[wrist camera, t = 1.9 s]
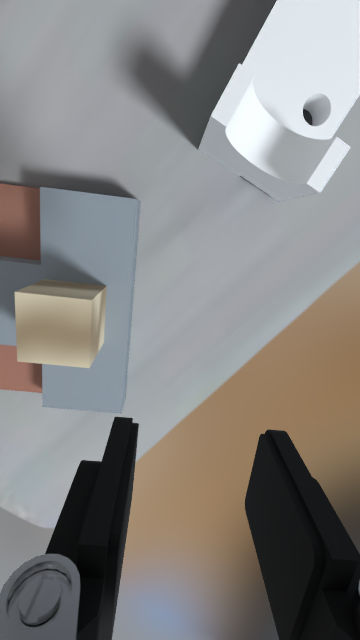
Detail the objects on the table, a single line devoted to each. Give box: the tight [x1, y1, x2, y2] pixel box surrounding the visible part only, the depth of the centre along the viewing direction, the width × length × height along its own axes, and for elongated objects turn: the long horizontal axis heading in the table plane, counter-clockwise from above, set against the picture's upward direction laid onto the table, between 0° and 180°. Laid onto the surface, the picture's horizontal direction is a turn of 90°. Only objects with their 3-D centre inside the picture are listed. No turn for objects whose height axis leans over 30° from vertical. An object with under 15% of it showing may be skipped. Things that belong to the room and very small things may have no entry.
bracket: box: [198, 0, 360, 202], centre depth 18 cm, size 13×7×8 cm, turn 149°
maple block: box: [15, 279, 107, 368], centre depth 21 cm, size 4×4×4 cm
